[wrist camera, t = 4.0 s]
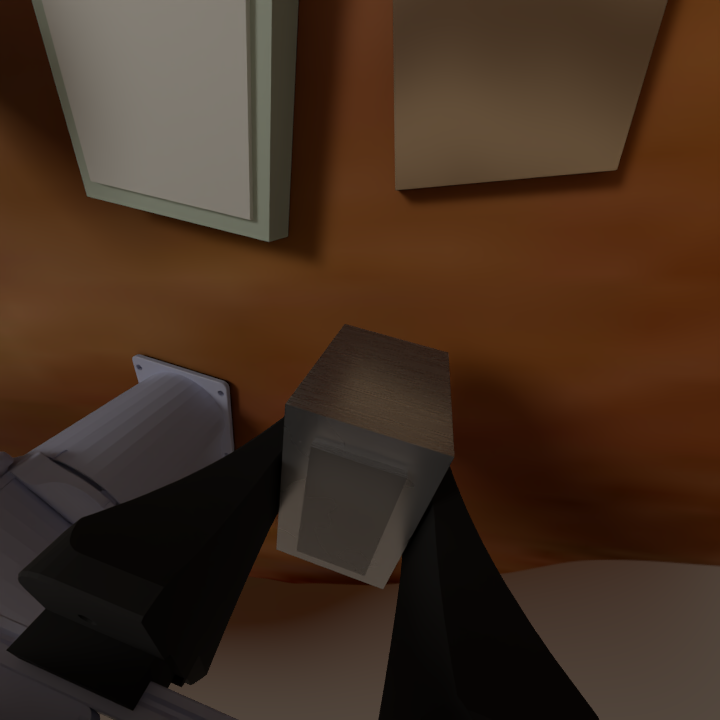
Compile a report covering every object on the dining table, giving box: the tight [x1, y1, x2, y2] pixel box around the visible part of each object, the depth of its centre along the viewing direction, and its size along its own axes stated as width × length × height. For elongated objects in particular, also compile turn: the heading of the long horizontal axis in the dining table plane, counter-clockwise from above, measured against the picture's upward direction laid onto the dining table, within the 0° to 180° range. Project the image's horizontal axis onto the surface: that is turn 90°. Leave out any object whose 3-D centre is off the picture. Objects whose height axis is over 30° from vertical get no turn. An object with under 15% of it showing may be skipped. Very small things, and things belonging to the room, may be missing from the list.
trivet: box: [393, 0, 668, 190], centre depth 10 cm, size 8×8×1 cm
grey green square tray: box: [32, 0, 299, 242], centre depth 12 cm, size 10×10×2 cm
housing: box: [277, 324, 454, 589], centre depth 10 cm, size 7×4×5 cm, turn 169°
